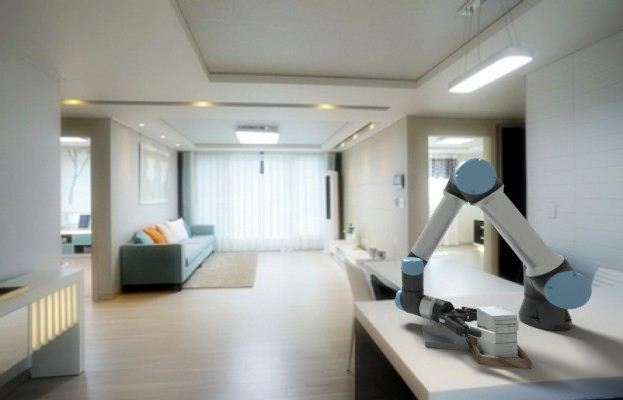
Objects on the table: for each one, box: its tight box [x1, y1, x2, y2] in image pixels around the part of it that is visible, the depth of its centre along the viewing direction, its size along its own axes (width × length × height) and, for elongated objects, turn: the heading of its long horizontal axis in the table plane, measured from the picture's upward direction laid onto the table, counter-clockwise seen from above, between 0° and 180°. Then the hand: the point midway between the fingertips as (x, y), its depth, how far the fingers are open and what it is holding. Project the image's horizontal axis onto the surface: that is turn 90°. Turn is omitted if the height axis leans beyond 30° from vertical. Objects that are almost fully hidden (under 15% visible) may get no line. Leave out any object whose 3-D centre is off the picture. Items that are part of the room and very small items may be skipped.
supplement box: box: [476, 305, 519, 358], centre depth 89 cm, size 7×7×13 cm
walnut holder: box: [467, 335, 532, 370], centre depth 89 cm, size 12×12×2 cm
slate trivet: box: [421, 325, 470, 351], centre depth 99 cm, size 12×12×2 cm
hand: (507, 331), depth 87 cm, fingers open, 13 cm apart
